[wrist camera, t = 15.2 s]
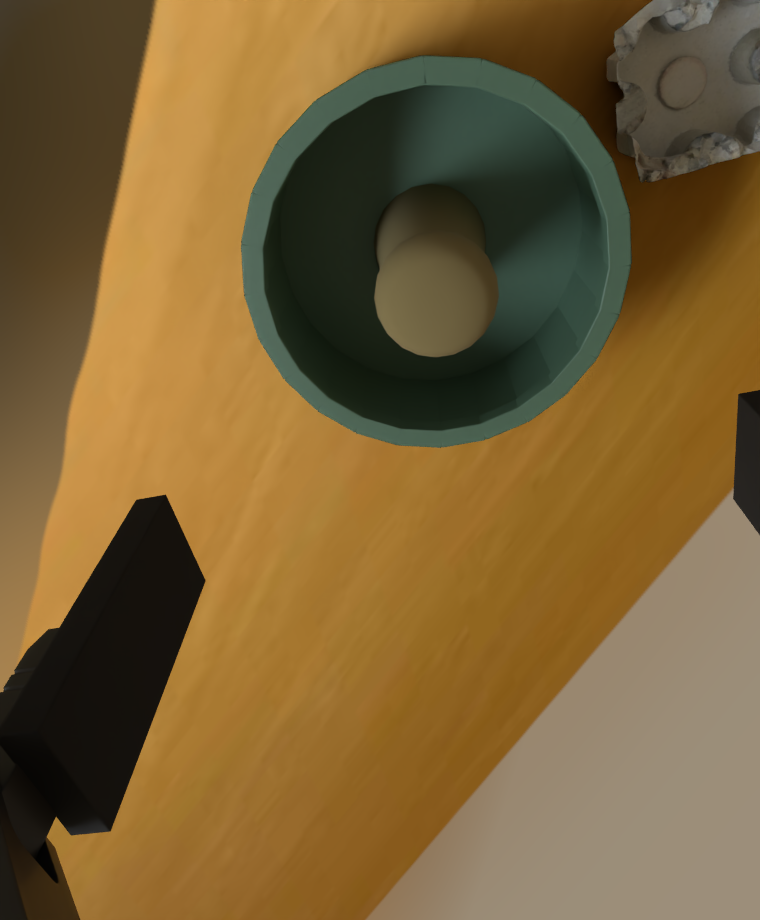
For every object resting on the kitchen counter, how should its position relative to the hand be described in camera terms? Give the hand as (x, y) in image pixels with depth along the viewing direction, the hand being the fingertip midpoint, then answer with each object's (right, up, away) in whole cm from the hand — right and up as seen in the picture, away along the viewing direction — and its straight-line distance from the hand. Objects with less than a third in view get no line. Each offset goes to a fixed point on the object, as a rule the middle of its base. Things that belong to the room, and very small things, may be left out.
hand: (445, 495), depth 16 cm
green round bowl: (+1, +13, +21) cm, 25 cm away
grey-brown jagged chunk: (+15, +20, +17) cm, 30 cm away
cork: (+1, +13, +21) cm, 25 cm away
